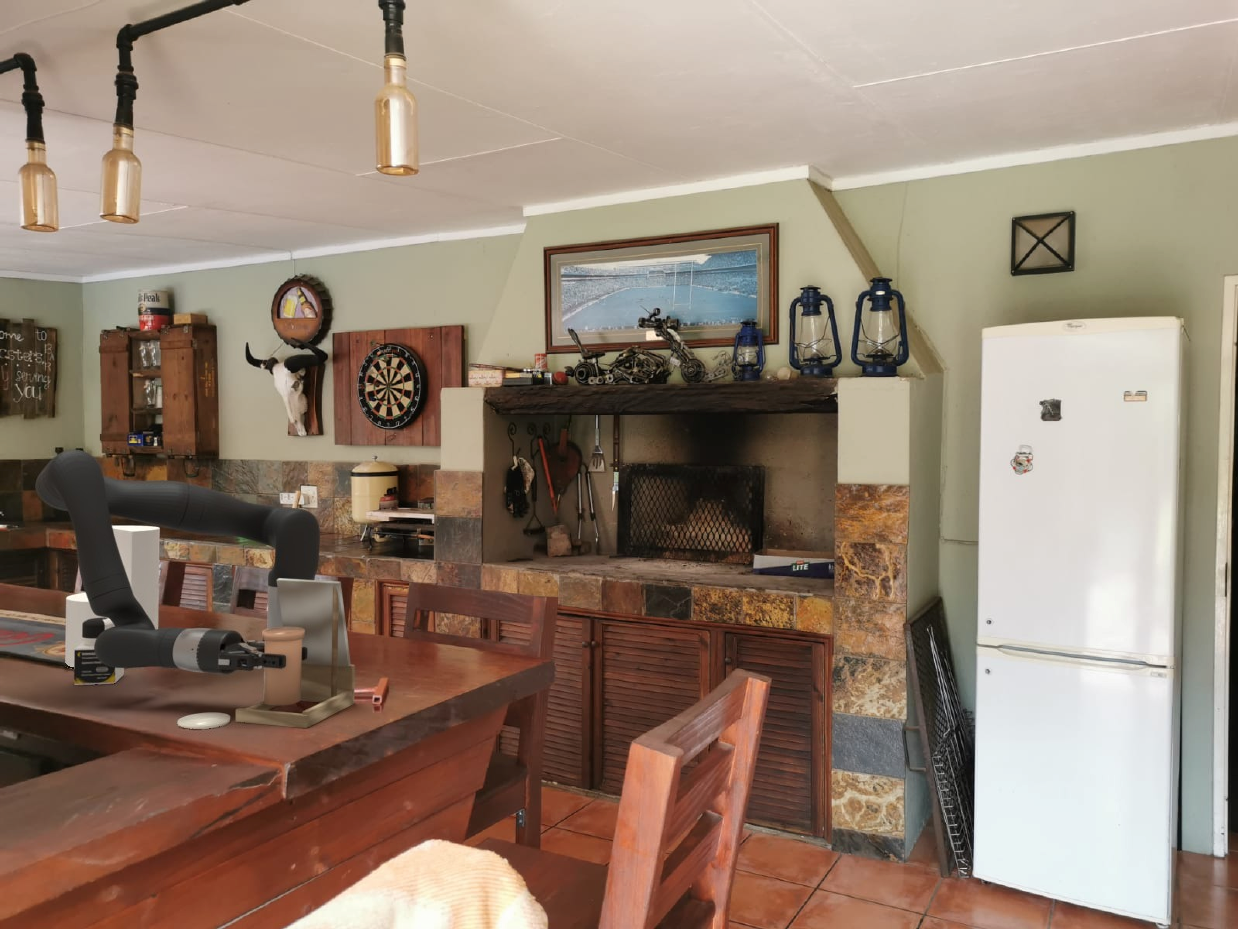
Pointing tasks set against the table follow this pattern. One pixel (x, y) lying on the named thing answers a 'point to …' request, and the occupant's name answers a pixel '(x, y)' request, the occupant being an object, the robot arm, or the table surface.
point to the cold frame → (313, 653)
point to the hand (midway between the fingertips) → (295, 657)
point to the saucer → (204, 720)
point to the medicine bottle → (93, 656)
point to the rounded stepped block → (141, 571)
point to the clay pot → (285, 681)
